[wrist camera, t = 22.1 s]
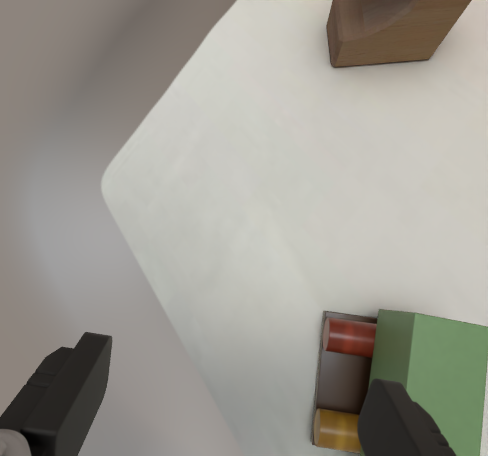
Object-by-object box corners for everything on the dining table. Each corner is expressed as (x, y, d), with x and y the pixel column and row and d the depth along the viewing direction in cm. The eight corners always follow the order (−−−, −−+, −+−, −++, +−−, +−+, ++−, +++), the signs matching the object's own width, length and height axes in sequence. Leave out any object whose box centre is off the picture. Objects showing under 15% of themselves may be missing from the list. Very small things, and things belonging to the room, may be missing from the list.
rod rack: (310, 441, 36) (317, 458, 32) (323, 310, 38) (331, 312, 34) (441, 462, 35) (465, 482, 31) (447, 328, 37) (470, 331, 33)
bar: (356, 480, 31) (388, 541, 24) (378, 309, 34) (414, 312, 26) (417, 494, 31) (471, 560, 23) (436, 320, 33) (490, 327, 26)
